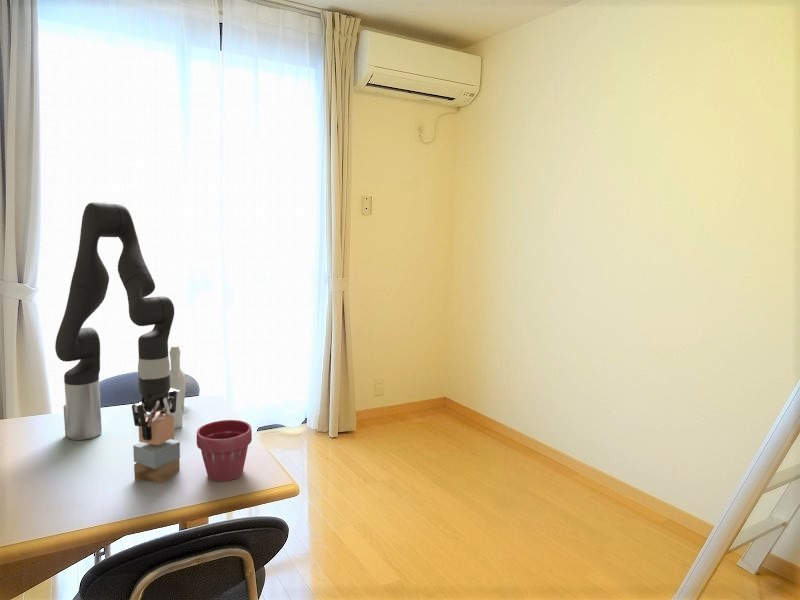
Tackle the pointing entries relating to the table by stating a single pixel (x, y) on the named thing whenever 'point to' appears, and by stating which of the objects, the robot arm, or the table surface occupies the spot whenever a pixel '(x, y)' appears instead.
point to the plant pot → (224, 448)
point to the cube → (159, 429)
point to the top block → (156, 453)
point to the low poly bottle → (177, 372)
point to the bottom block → (156, 472)
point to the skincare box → (177, 409)
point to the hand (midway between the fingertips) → (156, 434)
